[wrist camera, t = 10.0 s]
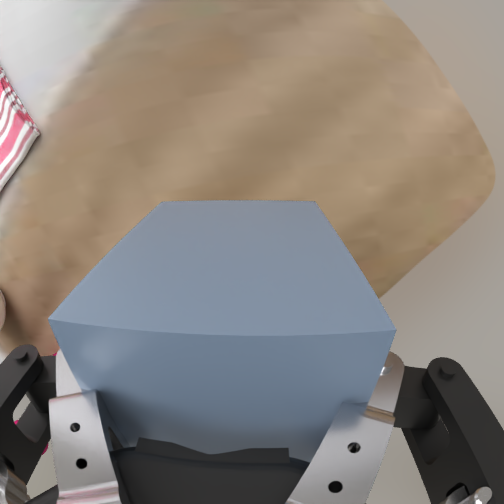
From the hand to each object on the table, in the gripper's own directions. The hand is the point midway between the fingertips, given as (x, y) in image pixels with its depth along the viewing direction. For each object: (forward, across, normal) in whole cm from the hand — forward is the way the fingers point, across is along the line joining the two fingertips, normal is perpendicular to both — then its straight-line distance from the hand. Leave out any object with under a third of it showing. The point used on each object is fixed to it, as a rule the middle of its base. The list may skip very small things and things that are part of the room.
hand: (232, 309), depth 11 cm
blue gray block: (+3, 0, 0) cm, 3 cm away
